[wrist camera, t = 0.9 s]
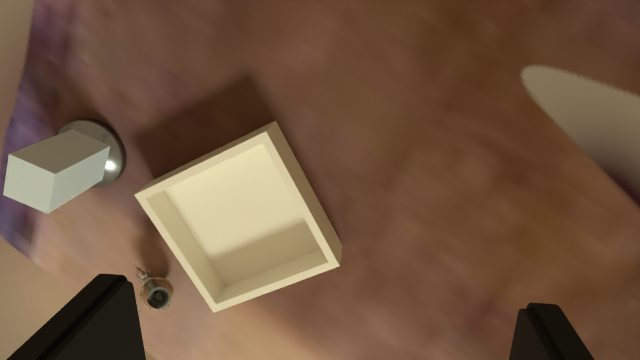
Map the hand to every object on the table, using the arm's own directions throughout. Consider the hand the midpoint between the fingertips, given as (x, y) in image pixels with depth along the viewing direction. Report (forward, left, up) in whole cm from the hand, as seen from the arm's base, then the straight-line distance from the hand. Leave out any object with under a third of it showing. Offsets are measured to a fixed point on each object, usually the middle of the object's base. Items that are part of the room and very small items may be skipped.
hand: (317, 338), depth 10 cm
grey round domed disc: (-7, -27, -31) cm, 41 cm away
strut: (-7, -27, -30) cm, 41 cm away
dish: (+6, -15, -31) cm, 35 cm away
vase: (+9, -28, -31) cm, 43 cm away
